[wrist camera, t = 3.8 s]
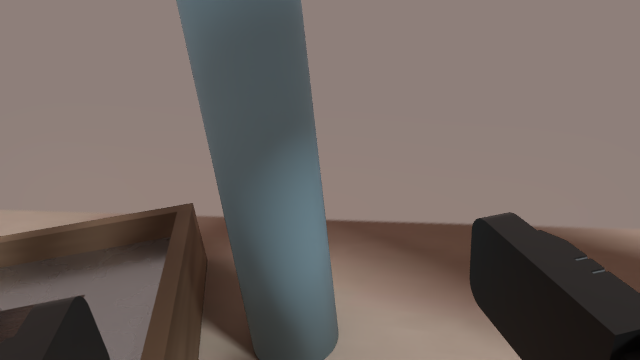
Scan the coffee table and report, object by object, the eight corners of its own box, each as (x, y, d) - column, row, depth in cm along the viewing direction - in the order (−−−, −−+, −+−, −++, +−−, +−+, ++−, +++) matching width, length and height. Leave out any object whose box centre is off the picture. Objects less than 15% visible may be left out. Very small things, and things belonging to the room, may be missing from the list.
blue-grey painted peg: (328, 300, 22) (287, -48, 16) (347, 359, 19) (303, -62, 12) (251, 316, 22) (174, -37, 15) (255, 380, 18) (157, -47, 12)
